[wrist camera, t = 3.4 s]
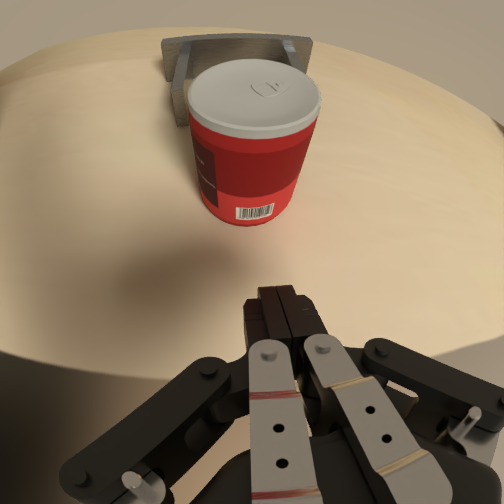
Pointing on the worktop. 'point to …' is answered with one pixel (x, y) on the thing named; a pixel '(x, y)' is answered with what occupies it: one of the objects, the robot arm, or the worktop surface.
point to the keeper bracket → (224, 58)
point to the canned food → (251, 136)
